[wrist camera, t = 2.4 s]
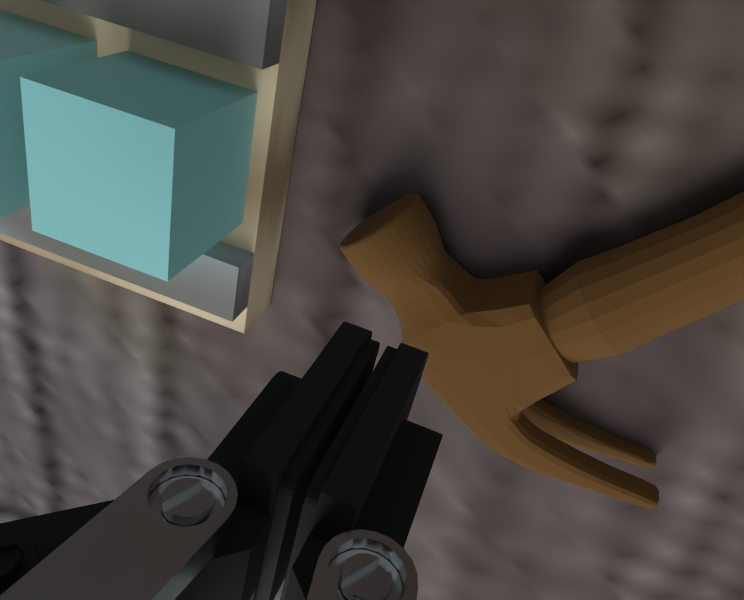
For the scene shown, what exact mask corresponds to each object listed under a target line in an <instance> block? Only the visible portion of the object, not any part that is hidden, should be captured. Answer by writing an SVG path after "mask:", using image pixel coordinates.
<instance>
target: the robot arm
mask: <svg viewBox="0 0 744 600" xmlns="http://www.w3.org/2000/svg"><path fill="white" fill-rule="evenodd" d="M371 337H372V331H369V330H367V329H364V328H361V327H359V326H356V325H353V324H351V323H348V322H343V323H342V324H341V326H340V327H339V329H338V330H337V331H336V333H335V334H334V335H333V337H332V338H331V340H330V341H329V342H328V344H327V345H326V346H325V348H324V349H323V351H322V352H321V353H320V355H319V356H318V357H317V359H316V360H315V362H314V363H313V364H312V366H311V367H310V368H309V370H308V371H307V373H306V374H305V375H304V377H303V378H302V379H301V378H298V377H296V376H293V375H291V374H288V373H286V372H283V371H280V372H278V373H277V374H276V375H275V376H274V377H273V378H272V379H271V381H270V382H269V383H268V384H267V386H266V387H265V388H264V389H263V391H262V392H261V393H260V394H259V396H258V397H257V398H256V399H255V401H254V402H253V403H252V404H251V406H250V407H249V408H248V409H247V411H246V412H245V413H244V414H243V416H242V417H241V418H240V419H239V421H238V422H237V423H236V424H235V426H234V427H233V428H232V429H231V431H230V432H229V433H228V434H227V436H226V437H225V438H224V439H223V441H222V442H221V443H220V444H219V446H218V447H217V448H216V450H215V451H214V452H213V453H212V455H211V456H210V457H209V458H208V460H207V459H201V458H195V457H185V458H175V459H172V460H169V461H166V462H163V463H161V464H159V465H158V466H156V467H154V468H153V469H151V470H150V471H148V472H147V473H146V474H145V475H144V476H142V477H141V478H140V479H139V480H138V481H136V482H135V483H134V484H133V485H132V486H130V487H129V488H128V489H127V490H126V491H124V492H123V493H122V494H121V495H120V496H119V497H117V498H116V499H115V500H111V501H106V502H101V503H97V504H92V505H87V506H82V507H77V508H73V509H68V510H63V511H58V512H53V513H49V514H44V515H39V516H34V517H29V518H25V519H20V520H15V521H10V522H5V523H1V524H0V600H274V598H275V596H276V594H277V592H278V590H279V588H280V587H281V585H282V583H283V581H284V579H285V582H284V586H283V590H282V594H281V598H280V600H416V599H417V591H418V579H417V571H416V569H415V566H414V564H413V561H412V559H411V558H410V556H409V555H408V554H407V552H406V551H405V550H404V545H405V542H406V539H407V536H408V534H409V531H410V528H411V525H412V522H413V519H414V516H415V513H416V511H417V508H418V505H419V502H420V499H421V496H422V493H423V491H424V488H425V485H426V482H427V479H428V476H429V473H430V470H431V468H432V465H433V462H434V459H435V456H436V453H437V450H438V447H439V445H440V442H441V439H442V436H443V434H440V433H438V432H435V431H433V430H430V429H428V428H425V427H422V426H420V425H417V424H415V423H412V422H410V421H407V419H408V416H409V413H410V410H411V407H412V404H413V401H414V398H415V395H416V392H417V389H418V386H419V383H420V380H421V377H422V374H423V371H424V367H425V364H426V361H427V358H428V355H429V353H428V352H425V351H423V350H420V349H417V348H415V347H412V346H409V345H407V344H404V343H401V344H400V345H399V347H398V349H395V348H393V347H390V346H387V348H386V349H385V351H384V353H383V355H382V356H381V358H380V360H379V362H378V363H377V365H376V367H375V369H374V370H373V368H374V364H375V361H376V357H377V354H378V350H379V346H380V343H379V342H377V341H374V340H371ZM372 371H373V372H372ZM285 577H286V578H285Z"/></svg>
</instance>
